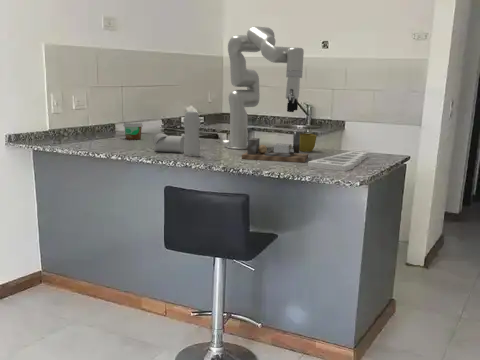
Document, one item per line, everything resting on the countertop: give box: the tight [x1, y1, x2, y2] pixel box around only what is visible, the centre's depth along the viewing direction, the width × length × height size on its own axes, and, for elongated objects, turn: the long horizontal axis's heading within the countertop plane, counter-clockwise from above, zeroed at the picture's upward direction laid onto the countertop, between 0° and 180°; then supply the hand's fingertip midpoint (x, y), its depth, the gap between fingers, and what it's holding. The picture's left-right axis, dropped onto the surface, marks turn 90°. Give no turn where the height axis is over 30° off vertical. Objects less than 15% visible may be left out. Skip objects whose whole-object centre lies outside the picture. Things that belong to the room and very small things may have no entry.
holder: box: [307, 150, 369, 172], centre depth 252 cm, size 45×18×3 cm, turn 143°
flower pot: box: [299, 133, 318, 153], centre depth 287 cm, size 9×9×9 cm
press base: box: [241, 137, 309, 163], centre depth 260 cm, size 30×14×9 cm, turn 75°
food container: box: [122, 122, 143, 141], centre depth 326 cm, size 12×6×10 cm, turn 73°
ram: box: [273, 131, 301, 154], centre depth 258 cm, size 12×8×10 cm, turn 75°
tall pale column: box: [182, 110, 201, 158], centre depth 264 cm, size 11×4×22 cm, turn 54°
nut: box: [258, 144, 268, 154], centre depth 262 cm, size 4×4×4 cm
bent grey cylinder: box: [153, 132, 185, 154], centre depth 282 cm, size 18×11×20 cm
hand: (292, 111), depth 257 cm, fingers open, 9 cm apart
